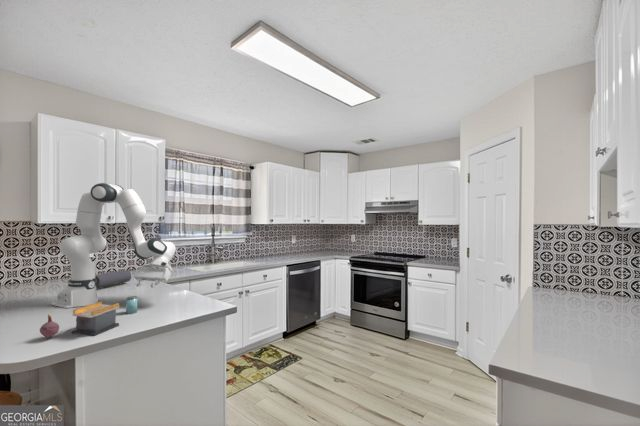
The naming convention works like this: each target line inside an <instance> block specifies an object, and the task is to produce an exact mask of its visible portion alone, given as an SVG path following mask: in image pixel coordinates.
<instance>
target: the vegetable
mask: <svg viewBox="0 0 640 426" xmlns="http://www.w3.org/2000/svg"><path fill="white" fill-rule="evenodd" d="M47 319H48V321H47V322H45V323H44V324H42V325H41V326H40V328H39V333H40V335H42V336H43V337H45V338H46V339H50V338H52V337H53V336H55V335H56V334H57V333H59V330H60V325H59V323H57V322H55V321H53V320H52V316H51V314H47Z"/></svg>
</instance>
